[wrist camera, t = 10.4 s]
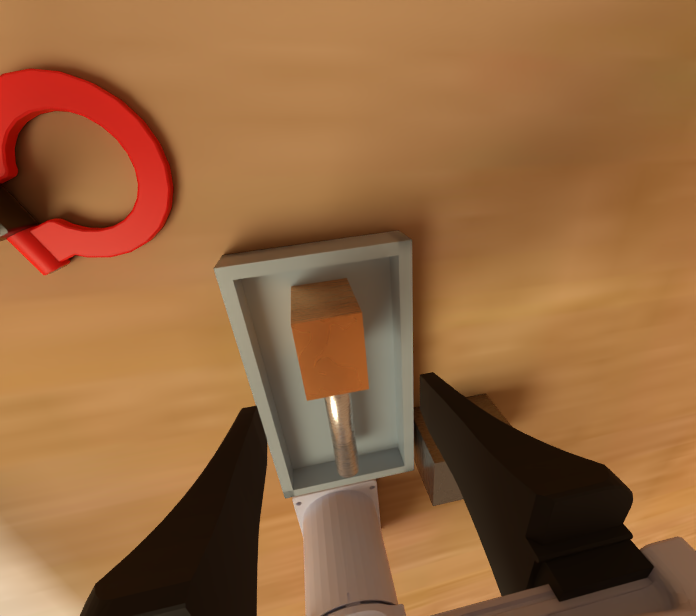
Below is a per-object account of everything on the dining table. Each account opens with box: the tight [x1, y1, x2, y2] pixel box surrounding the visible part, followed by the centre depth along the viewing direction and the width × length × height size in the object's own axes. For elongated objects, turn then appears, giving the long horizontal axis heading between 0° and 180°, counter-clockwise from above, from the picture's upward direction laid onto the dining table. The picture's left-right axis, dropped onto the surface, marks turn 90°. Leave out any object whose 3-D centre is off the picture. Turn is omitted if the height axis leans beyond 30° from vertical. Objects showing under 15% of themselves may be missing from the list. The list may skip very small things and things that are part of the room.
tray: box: [214, 230, 414, 498], centre depth 23 cm, size 20×11×2 cm, turn 6°
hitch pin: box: [291, 278, 369, 478], centre depth 21 cm, size 15×4×5 cm, turn 6°
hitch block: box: [413, 394, 512, 506], centre depth 26 cm, size 5×7×5 cm
